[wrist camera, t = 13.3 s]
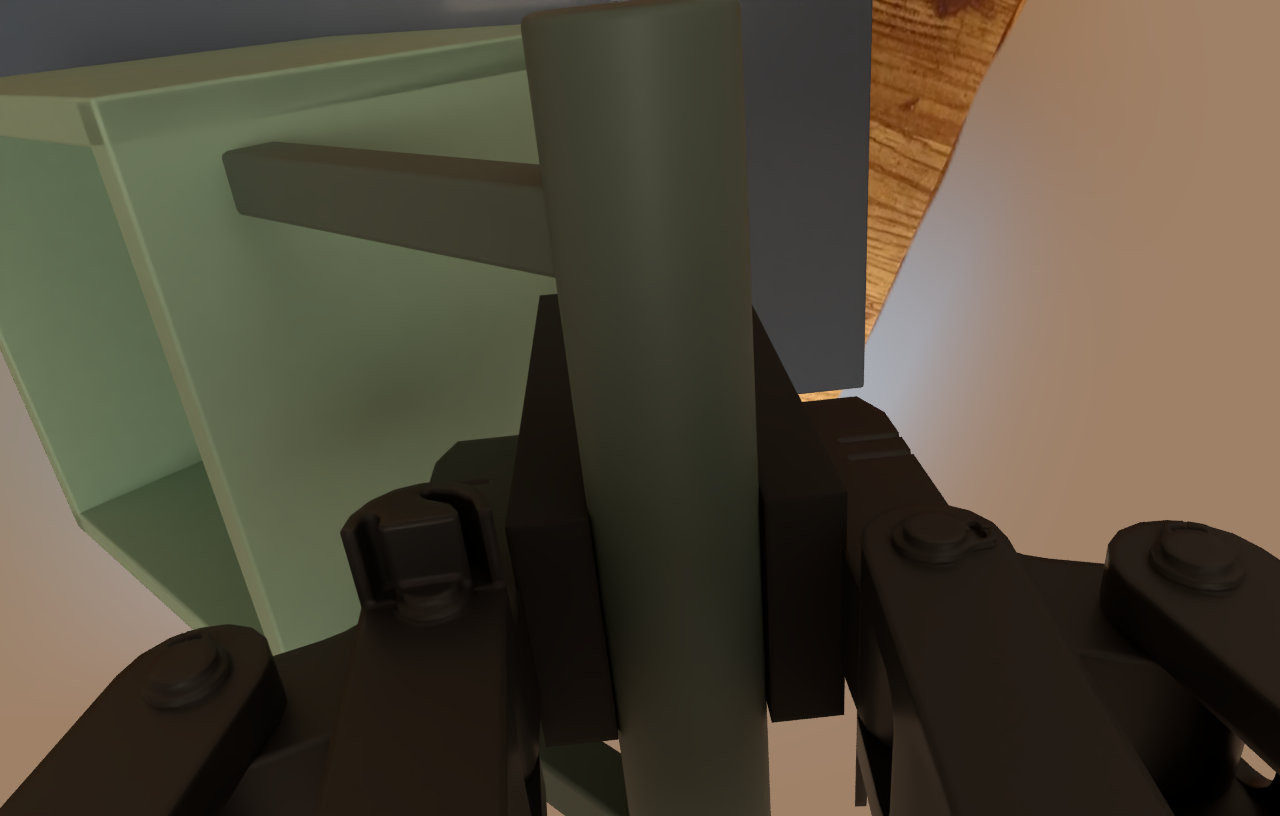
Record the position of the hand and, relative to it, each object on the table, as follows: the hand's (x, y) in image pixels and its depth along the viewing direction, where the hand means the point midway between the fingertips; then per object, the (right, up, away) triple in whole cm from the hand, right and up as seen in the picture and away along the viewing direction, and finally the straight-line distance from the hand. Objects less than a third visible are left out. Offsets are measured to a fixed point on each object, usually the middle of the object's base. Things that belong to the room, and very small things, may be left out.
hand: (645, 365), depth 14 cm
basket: (-1, +2, +5) cm, 6 cm away
